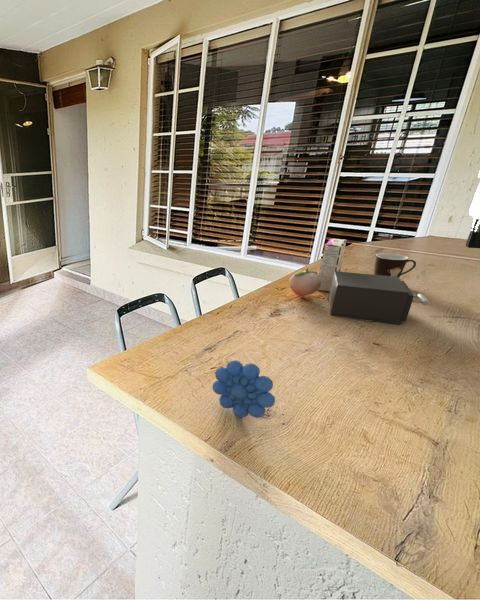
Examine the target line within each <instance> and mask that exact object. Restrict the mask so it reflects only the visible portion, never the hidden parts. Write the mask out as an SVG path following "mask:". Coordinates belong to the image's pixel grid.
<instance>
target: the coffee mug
mask: <svg viewBox="0 0 480 600" xmlns="http://www.w3.org/2000/svg"><path fill="white" fill-rule="evenodd" d="M409 262H412V263H413V265H412V266H411V267H410V268H409V269H408V270H406V271H404V268H405V267H406V265H407V263H409ZM416 266H417V262H416V261H415V260H413V259H409V257H408V256H406V255H401V254H397V253H377V254H375V259H374V269H373V275H383V276H394V277H399V278H400V277H401V276H403V275H405V274H407V273H409V272H411V271H412V270H414V269H415V268H416Z"/></svg>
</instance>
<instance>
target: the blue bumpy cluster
mask: <svg viewBox="0 0 480 600" xmlns="http://www.w3.org/2000/svg"><path fill="white" fill-rule="evenodd" d="M260 374H261V370H260V367H259V366H258V365H257V364H255V363H252V362H251V363H246V364H245V365H243V364H242V362H240V361H239V360H235V359H234V360H230V361H228V362H227V364H226V365H225V367H218V368H217V369H216V370H215V372H214V376H215V379H216V380H215V381H214V382H213V384H212V391H213V392H214V393H215V394H216V395H219V399H218V401H219V405H220V406H221V407H222V408H224V409H232V413H233V415H235V417H237V418H241V419H242V418H243V419H244V418H247V417H248V416H251V418H252V417H253V418H255V419H258V418H262V417H264V416H265V413H266V409H267V408H269V409H270V408H272V407H274V405H275V402H276V398H275V395H273V394H272V393H271V392H270V391H271V390H272V389H273V386H274V382H273V380H272V379H271V378H270V377H269V376H267V375H260Z"/></svg>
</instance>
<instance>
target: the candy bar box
mask: <svg viewBox="0 0 480 600" xmlns="http://www.w3.org/2000/svg"><path fill="white" fill-rule="evenodd" d="M347 241H348V240H347V239H341V238H330V239H329V240H328V241H327V242H326V243H325V244H324V247H323V253H322V258H321V262H320V268H319V273H318V276H319V277H320V279H321V285H320V288H319V289H318V290H317V291H319V292H320V291H321V292H328V293H330V290H331V286H332V281H333V277H334V273H335V271H338V272H341V269H342V264H343V258H344V254H345V249H346V244H347Z"/></svg>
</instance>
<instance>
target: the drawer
mask: <svg viewBox="0 0 480 600" xmlns="http://www.w3.org/2000/svg"><path fill="white" fill-rule="evenodd" d="M401 281H402V283H403V284H404V286H405V287H406V289H407V290H408V292H409V295H408V298H407V301H406V304H405V307H404V311H403V314H402V317H401V320H400V323H401V322H402V323H406V322H407V320H408V317H409V313H410V310H411V307H412V304H413V303H415V304H421V305H423V306H428V305H430V301H429V300H428V299H427V298H426V296H425V295H424V294H423V293H417V294H414V293H413V292H412V291H411V289H410V287H409V286H408V285H407V283H406V282H405V280H401ZM414 298H417V299H414Z"/></svg>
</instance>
